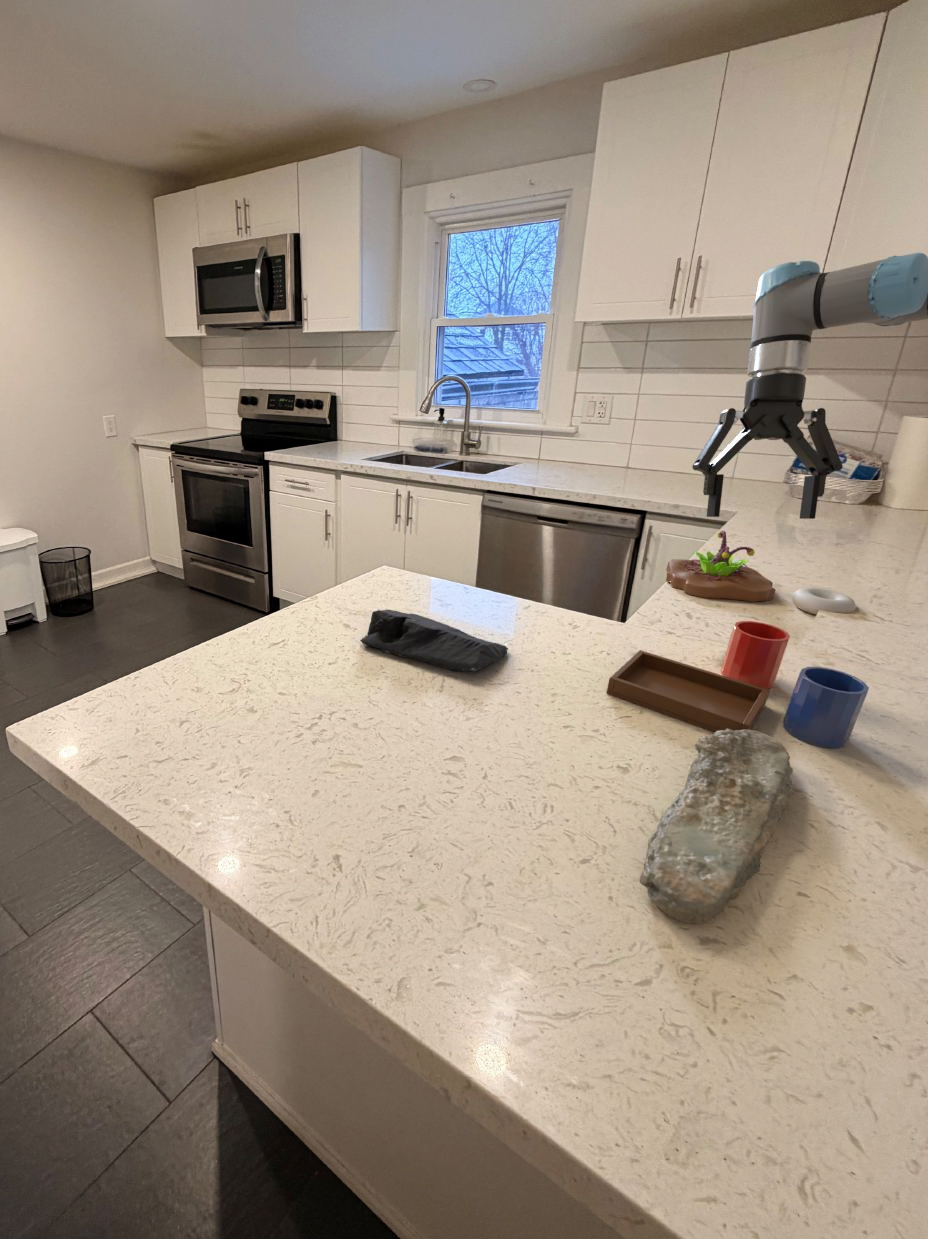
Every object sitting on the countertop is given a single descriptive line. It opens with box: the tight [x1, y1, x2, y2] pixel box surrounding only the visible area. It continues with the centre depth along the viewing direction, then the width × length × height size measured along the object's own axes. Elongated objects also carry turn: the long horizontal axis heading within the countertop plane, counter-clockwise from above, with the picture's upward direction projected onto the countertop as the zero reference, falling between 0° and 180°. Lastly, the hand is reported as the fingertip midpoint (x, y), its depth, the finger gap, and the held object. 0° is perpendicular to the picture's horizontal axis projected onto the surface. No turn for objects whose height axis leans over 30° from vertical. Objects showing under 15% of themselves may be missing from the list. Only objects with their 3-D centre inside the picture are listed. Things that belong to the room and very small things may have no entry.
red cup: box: [720, 620, 791, 690], centre depth 96 cm, size 7×7×8 cm
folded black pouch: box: [359, 609, 509, 672], centre depth 104 cm, size 15×22×5 cm
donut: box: [791, 586, 857, 616], centre depth 123 cm, size 10×4×10 cm
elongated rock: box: [639, 729, 794, 925], centre depth 67 cm, size 35×5×10 cm
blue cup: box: [782, 666, 870, 749], centre depth 83 cm, size 7×7×8 cm
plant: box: [665, 530, 776, 603], centre depth 134 cm, size 20×20×11 cm
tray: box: [605, 649, 771, 733], centre depth 91 cm, size 18×13×3 cm
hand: (759, 518), depth 100 cm, fingers open, 13 cm apart
